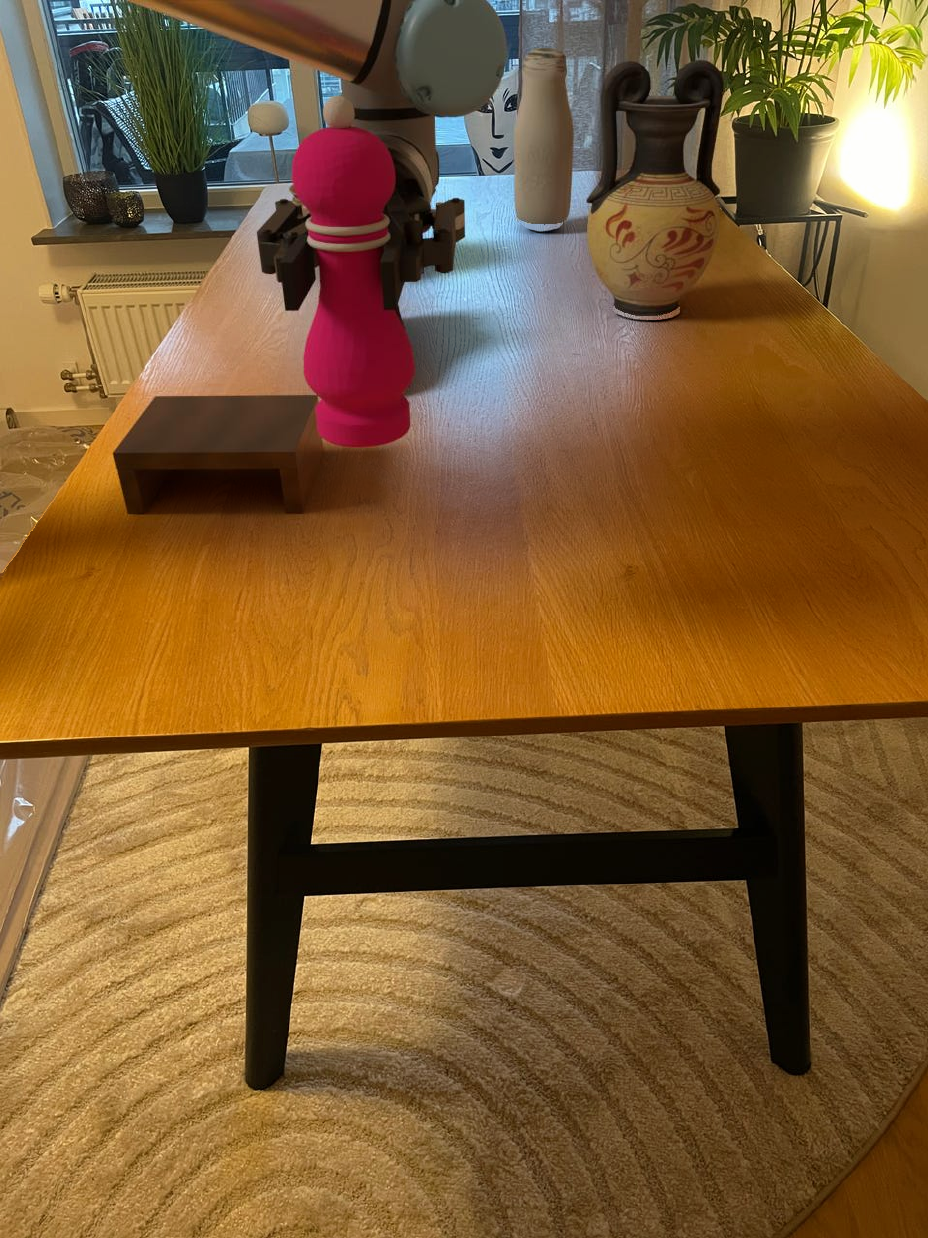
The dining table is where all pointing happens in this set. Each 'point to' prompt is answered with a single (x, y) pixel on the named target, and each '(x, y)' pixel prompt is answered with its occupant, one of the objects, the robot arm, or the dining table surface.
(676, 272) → the amphora
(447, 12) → the robot arm
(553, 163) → the tan bottle
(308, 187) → the pepper mill
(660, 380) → the dining table surface
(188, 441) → the shelf
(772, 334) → the dining table surface
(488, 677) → the dining table surface
